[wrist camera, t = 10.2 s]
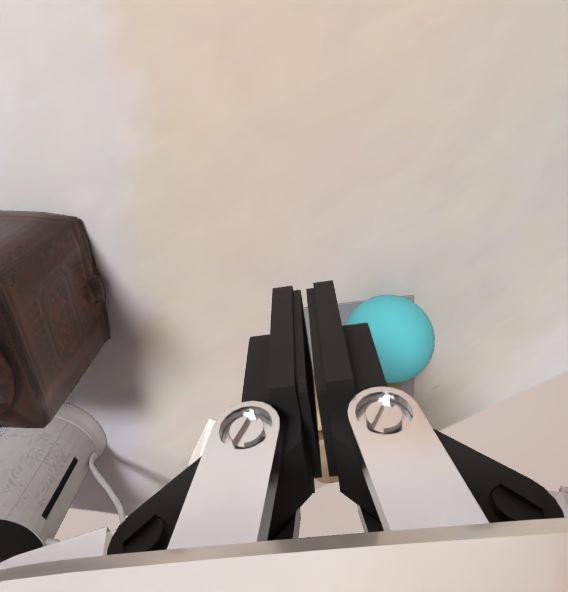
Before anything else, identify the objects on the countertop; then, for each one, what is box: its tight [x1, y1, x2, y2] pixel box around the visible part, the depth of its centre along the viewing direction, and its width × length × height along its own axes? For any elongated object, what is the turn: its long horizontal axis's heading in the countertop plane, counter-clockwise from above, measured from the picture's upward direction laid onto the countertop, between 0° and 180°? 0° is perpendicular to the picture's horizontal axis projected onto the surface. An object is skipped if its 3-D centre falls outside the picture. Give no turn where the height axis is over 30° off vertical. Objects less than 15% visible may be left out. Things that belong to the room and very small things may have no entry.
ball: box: [346, 295, 435, 383], centre depth 28 cm, size 6×6×6 cm
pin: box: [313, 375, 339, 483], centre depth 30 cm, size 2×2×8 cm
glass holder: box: [0, 402, 125, 563], centre depth 32 cm, size 9×14×15 cm, turn 83°
